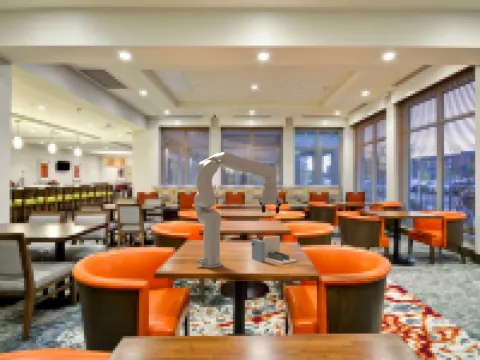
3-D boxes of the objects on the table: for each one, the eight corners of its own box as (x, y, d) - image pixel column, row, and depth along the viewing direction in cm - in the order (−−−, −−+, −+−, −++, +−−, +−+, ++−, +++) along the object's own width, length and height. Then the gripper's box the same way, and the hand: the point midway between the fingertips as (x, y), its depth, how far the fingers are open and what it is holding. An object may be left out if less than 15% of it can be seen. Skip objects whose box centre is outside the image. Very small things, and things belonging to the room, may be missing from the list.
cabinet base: (281, 264, 181) (281, 242, 181) (263, 258, 196) (263, 237, 196) (297, 261, 187) (297, 240, 187) (278, 255, 202) (278, 235, 202)
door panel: (259, 262, 185) (259, 242, 185) (250, 259, 193) (250, 239, 193) (264, 261, 186) (264, 241, 187) (255, 258, 195) (255, 239, 195)
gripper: (255, 186, 202) (255, 212, 202) (280, 186, 192) (280, 214, 192) (261, 186, 208) (261, 211, 208) (285, 186, 199) (285, 213, 198)
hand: (270, 212), depth 200 cm, fingers open, 9 cm apart
